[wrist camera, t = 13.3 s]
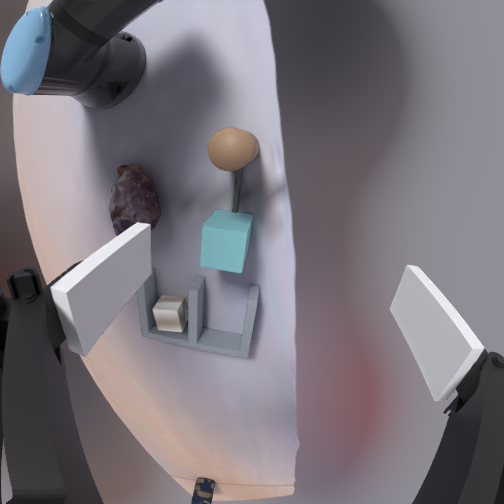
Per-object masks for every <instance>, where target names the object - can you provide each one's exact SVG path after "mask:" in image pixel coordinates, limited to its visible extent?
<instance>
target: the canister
mask: <svg viewBox="0 0 504 504" xmlns="http://www.w3.org/2000/svg"><path fill="white" fill-rule="evenodd" d="M214 487H215V482H214V481H212V480H209V479H205V478H198V479H197V480H196V484H195V488H194V492H193V497H192V502H191V503H192V504H211V502H212V497H213V492H214Z"/></svg>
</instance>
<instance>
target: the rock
mask: <svg viewBox="0 0 504 504" xmlns="http://www.w3.org/2000/svg"><path fill="white" fill-rule="evenodd" d="M117 171H118V175H119V179H118V181H117V182H116V183H115V184H114V185H113V186H112V190H111V191H112V197H111V198H110V208H109V210H110V216H111V219H112V222H113V228H114V229H115V234H116V235H117V236H118V235H120V234H121V233H123V232H124V231H125V230H127V229H128V228H130V227H131V226H133V225H134V224H136V223H137V222H138V223H145V224H151V230H152V229H153V228H154V227H155V226H156V223H157V221H158V219H159V218H160V216H161V209H160V206H159V202H158V198H157V195H156V192H155V191H154V186H153V180H152V178H150V177H147V176H145V175H144V174H143V172H142V171H141V169H140V168H138V167H137V166H135V165H134V164H132V165H130V166H128V165H123V166H120V167H118V168H117Z"/></svg>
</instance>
